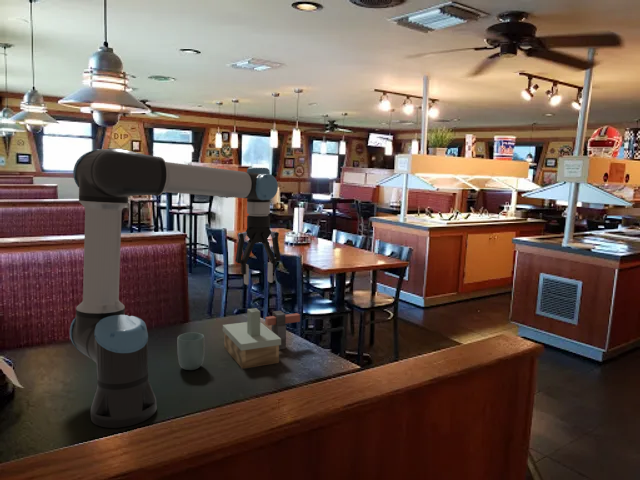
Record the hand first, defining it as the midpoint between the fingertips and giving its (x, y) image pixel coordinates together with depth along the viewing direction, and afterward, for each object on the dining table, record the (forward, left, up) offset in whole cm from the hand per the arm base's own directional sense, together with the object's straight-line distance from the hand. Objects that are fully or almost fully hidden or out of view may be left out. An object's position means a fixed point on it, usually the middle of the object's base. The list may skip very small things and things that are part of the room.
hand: (258, 282), depth 163 cm
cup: (-7, +24, -23) cm, 34 cm away
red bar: (0, -9, -15) cm, 17 cm away
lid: (-4, +4, -19) cm, 20 cm away
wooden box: (-4, +1, -23) cm, 24 cm away
